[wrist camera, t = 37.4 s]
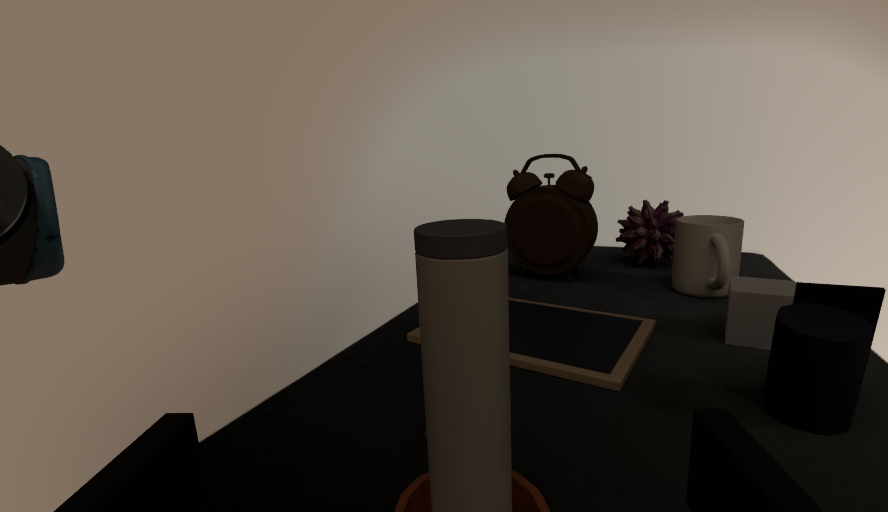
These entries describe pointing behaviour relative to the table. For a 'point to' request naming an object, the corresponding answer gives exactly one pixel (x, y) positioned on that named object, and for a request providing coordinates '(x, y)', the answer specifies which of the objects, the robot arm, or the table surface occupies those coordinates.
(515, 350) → the picture frame
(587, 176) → the alarm clock
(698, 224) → the mug
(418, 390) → the table surface
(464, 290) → the grey-capped cream cylinder
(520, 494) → the bowl
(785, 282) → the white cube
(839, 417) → the speaker
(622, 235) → the flower
